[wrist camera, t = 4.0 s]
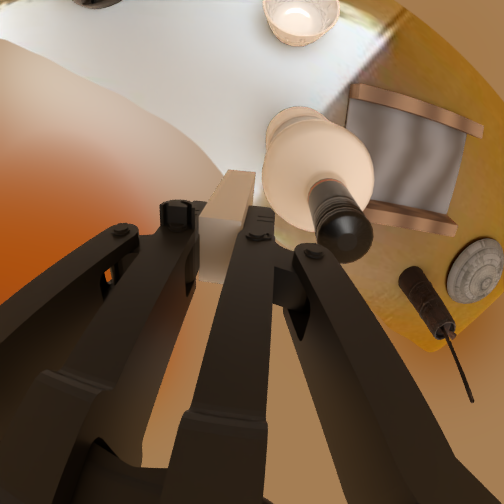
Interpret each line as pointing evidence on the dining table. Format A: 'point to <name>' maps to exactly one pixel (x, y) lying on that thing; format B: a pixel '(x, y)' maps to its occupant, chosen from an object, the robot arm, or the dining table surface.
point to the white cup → (301, 19)
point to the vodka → (320, 180)
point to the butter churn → (431, 310)
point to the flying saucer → (476, 271)
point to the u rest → (409, 157)
